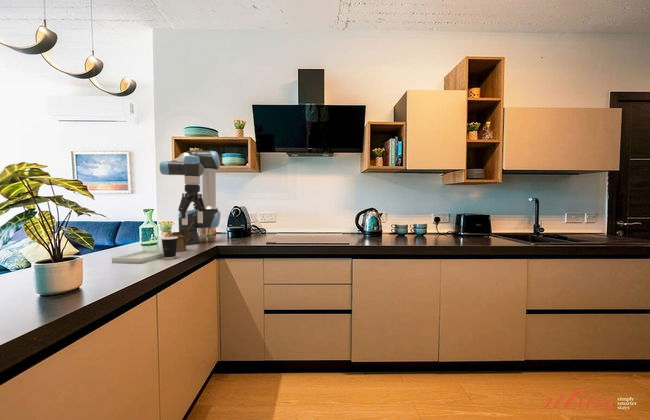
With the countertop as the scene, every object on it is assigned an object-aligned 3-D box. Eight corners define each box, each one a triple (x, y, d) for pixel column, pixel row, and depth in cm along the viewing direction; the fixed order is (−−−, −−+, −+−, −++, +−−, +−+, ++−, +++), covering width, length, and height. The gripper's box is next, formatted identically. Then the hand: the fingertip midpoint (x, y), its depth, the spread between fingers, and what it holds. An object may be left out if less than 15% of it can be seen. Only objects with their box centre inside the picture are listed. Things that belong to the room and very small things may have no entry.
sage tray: (144, 254, 155) (144, 250, 154) (170, 255, 152) (170, 251, 152) (112, 262, 135) (111, 257, 135) (141, 263, 132) (141, 258, 132)
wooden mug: (194, 251, 164) (193, 221, 163) (167, 253, 159) (167, 221, 158) (195, 249, 172) (194, 220, 172) (170, 250, 167) (169, 220, 167)
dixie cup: (178, 256, 150) (177, 236, 150) (178, 258, 144) (178, 238, 143) (161, 257, 146) (160, 237, 146) (161, 260, 140) (160, 239, 139)
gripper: (199, 186, 164) (200, 222, 165) (169, 183, 139) (170, 225, 140) (211, 185, 163) (211, 222, 163) (183, 182, 138) (184, 225, 139)
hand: (192, 223), depth 152 cm, fingers open, 13 cm apart
